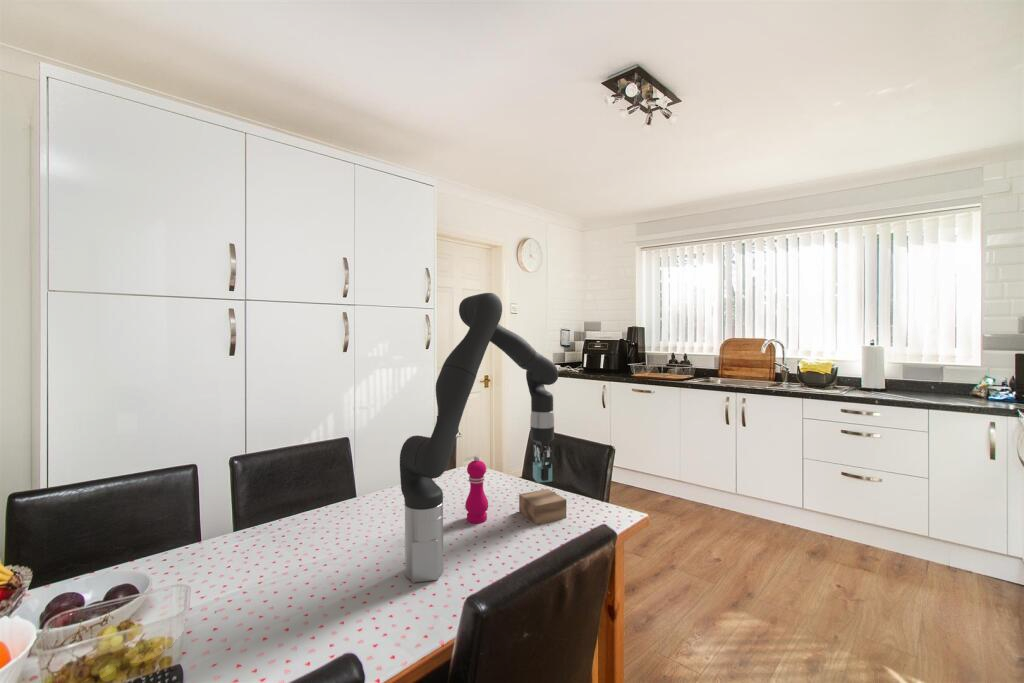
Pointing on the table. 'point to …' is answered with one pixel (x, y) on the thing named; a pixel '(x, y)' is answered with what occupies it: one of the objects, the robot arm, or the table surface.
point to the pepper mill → (476, 492)
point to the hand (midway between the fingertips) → (542, 477)
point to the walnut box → (542, 506)
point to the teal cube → (538, 472)
